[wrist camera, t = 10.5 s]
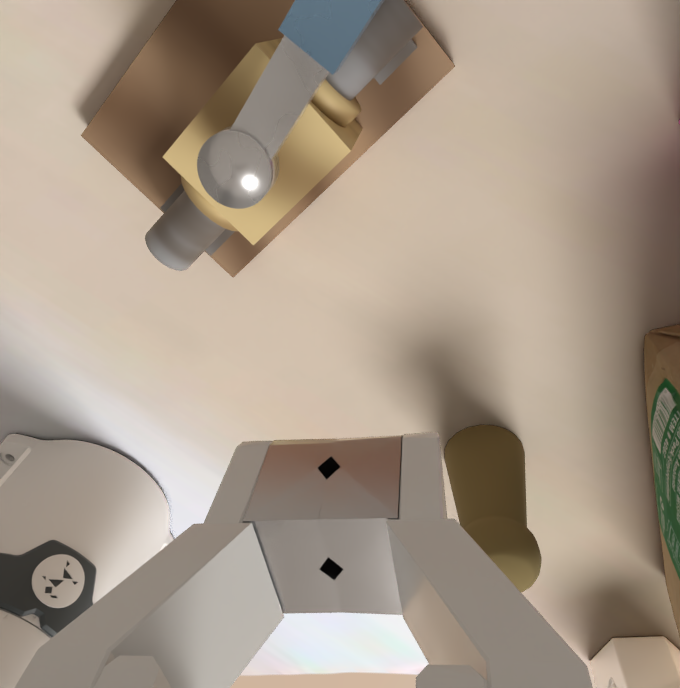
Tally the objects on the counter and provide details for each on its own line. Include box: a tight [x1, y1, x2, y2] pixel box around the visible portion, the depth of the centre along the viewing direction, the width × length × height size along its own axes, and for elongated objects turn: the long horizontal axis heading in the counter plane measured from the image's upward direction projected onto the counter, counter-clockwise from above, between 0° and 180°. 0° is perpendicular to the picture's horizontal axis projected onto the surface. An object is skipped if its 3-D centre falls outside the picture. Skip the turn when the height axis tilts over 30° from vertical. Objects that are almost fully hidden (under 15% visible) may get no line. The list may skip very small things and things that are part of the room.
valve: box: [81, 0, 455, 277], centre depth 28 cm, size 18×12×8 cm, turn 134°
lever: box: [197, 0, 384, 209], centre depth 21 cm, size 13×3×2 cm, turn 144°
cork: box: [444, 425, 541, 592], centre depth 38 cm, size 6×6×11 cm
